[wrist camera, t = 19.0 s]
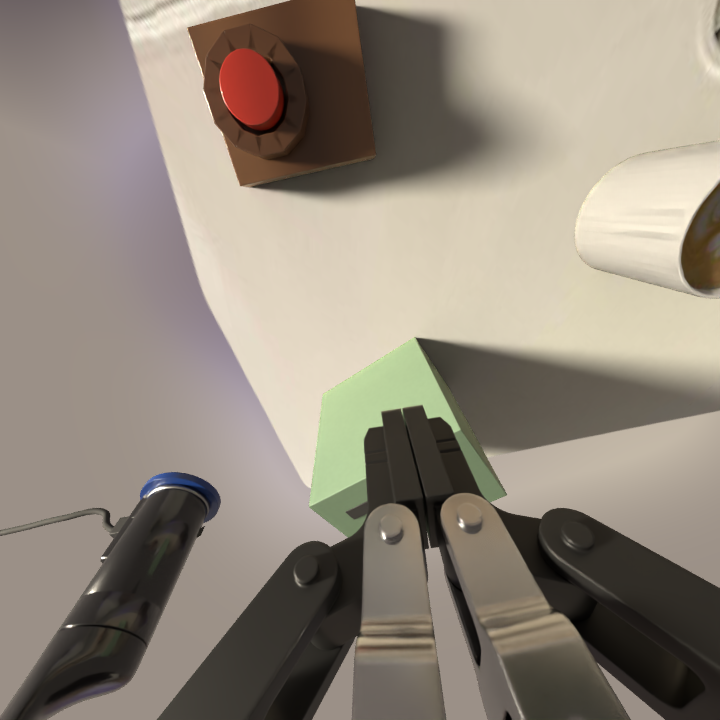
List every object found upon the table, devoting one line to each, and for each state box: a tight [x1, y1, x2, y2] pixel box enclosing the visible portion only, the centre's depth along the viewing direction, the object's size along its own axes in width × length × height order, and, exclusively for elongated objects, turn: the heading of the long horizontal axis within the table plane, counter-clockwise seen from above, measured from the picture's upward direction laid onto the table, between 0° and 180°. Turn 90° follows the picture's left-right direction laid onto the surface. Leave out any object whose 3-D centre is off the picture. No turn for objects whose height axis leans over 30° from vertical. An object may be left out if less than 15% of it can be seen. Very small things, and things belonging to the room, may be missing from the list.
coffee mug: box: [575, 140, 720, 299], centre depth 23 cm, size 13×10×10 cm
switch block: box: [187, 0, 376, 187], centre depth 21 cm, size 11×9×4 cm
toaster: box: [309, 337, 507, 538], centre depth 29 cm, size 13×9×15 cm, turn 125°
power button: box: [220, 48, 284, 131], centre depth 19 cm, size 4×4×2 cm
